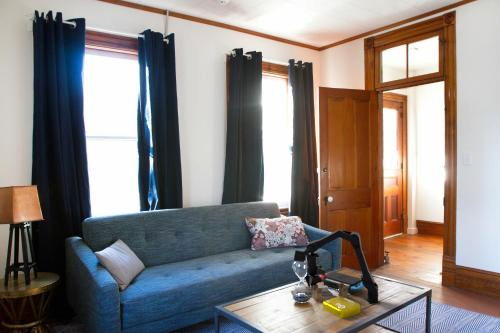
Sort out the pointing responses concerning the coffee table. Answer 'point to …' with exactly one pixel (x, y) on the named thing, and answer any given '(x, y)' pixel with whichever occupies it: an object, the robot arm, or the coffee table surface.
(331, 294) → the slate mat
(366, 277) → the robot arm
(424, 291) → the coffee table surface
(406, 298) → the coffee table surface
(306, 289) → the steel rail
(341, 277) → the game console
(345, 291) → the hook posts
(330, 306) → the element tile
